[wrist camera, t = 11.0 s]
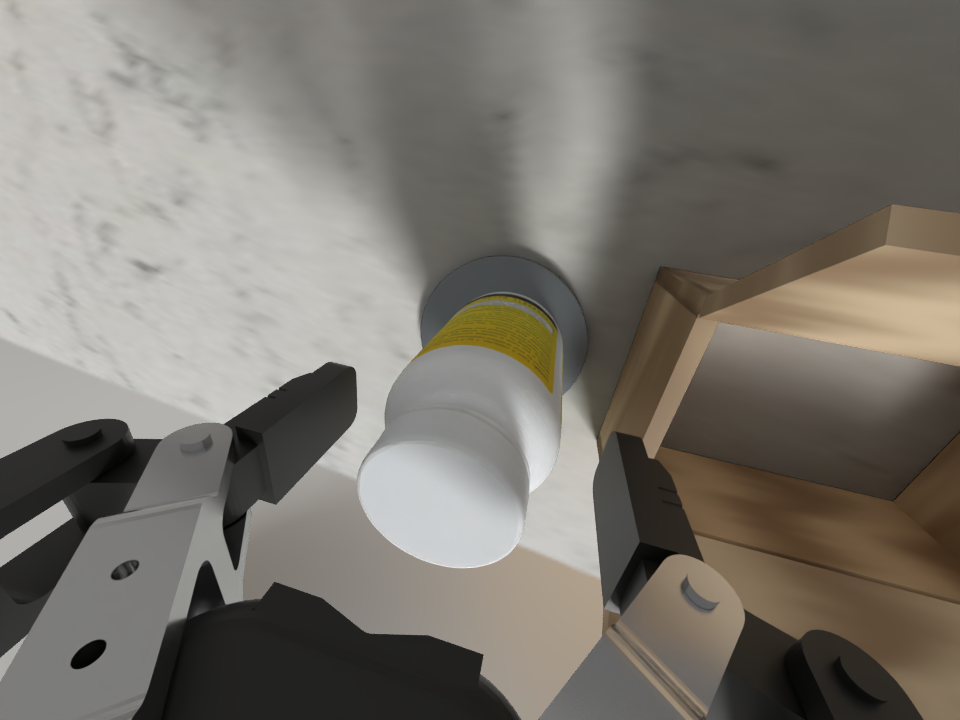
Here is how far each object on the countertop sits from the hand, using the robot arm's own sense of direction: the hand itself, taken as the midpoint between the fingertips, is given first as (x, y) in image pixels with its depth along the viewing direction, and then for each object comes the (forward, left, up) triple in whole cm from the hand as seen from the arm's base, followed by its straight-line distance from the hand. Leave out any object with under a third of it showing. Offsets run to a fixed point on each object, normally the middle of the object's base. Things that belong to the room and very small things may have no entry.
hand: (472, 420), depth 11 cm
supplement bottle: (0, 0, -7) cm, 7 cm away
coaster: (0, 0, -7) cm, 7 cm away
